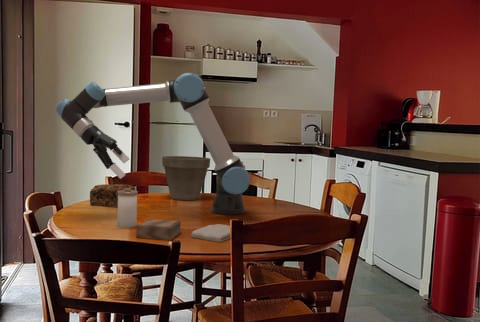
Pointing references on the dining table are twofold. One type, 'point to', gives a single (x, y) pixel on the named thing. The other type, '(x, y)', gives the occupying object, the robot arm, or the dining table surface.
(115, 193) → the bread
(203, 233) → the washcloth
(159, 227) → the base block
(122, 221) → the canister
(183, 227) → the dining table surface
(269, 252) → the dining table surface
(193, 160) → the plant pot
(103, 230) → the dining table surface
